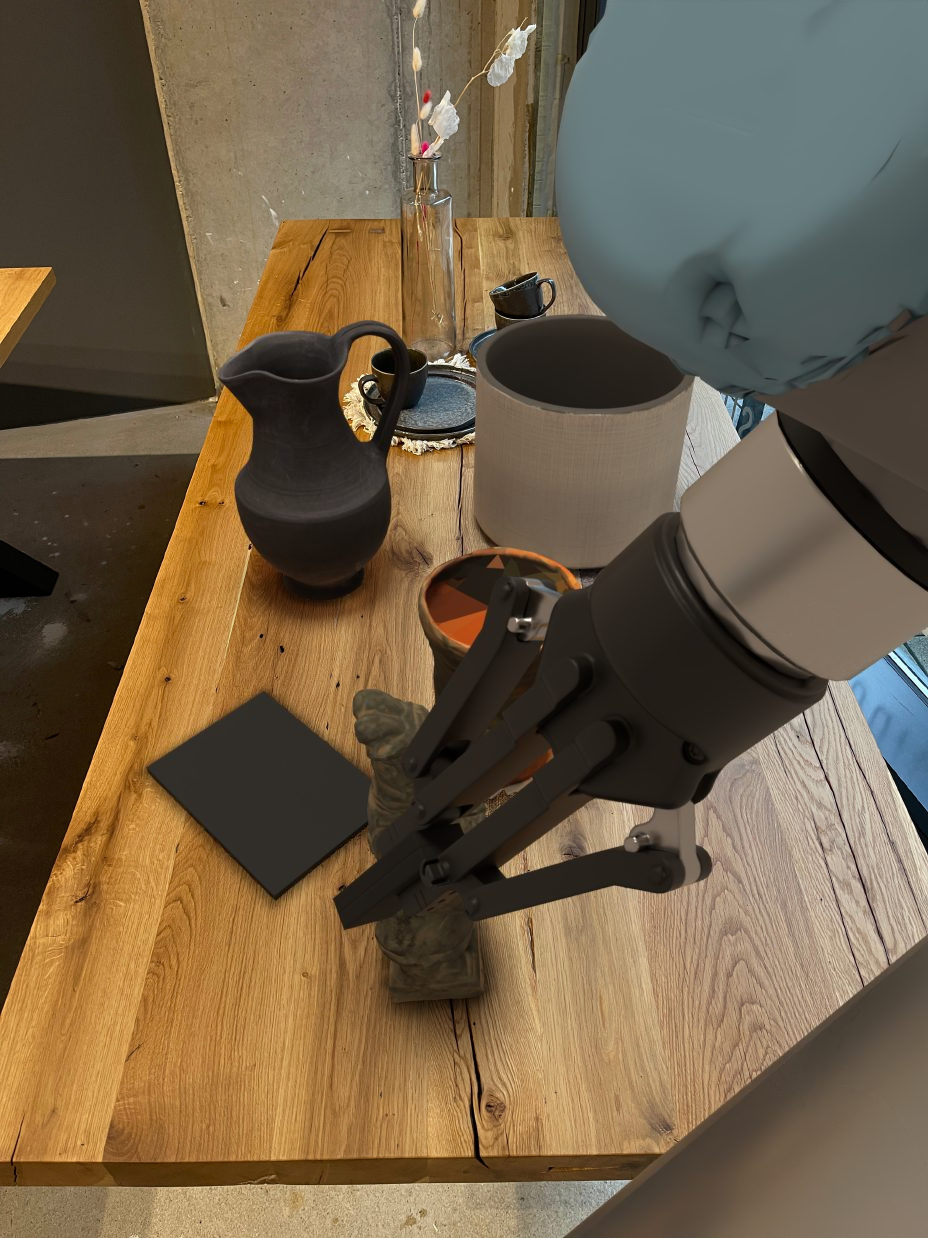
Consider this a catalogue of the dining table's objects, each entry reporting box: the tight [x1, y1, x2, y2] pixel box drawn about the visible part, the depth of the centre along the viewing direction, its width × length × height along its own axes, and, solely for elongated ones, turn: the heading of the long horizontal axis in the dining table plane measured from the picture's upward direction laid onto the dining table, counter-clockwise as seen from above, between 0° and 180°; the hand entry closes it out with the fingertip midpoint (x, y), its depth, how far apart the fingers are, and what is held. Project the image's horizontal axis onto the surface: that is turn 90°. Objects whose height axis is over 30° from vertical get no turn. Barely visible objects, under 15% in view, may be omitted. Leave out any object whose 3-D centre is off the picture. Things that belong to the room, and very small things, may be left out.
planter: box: [472, 313, 696, 570], centre depth 112 cm, size 25×25×22 cm
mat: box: [145, 690, 371, 900], centre depth 86 cm, size 20×14×1 cm
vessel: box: [417, 546, 582, 800], centre depth 83 cm, size 14×14×20 cm
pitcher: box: [218, 319, 411, 602], centre depth 101 cm, size 17×21×30 cm
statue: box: [352, 688, 488, 1004], centre depth 64 cm, size 11×9×30 cm
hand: (362, 908), depth 41 cm, fingers closed
